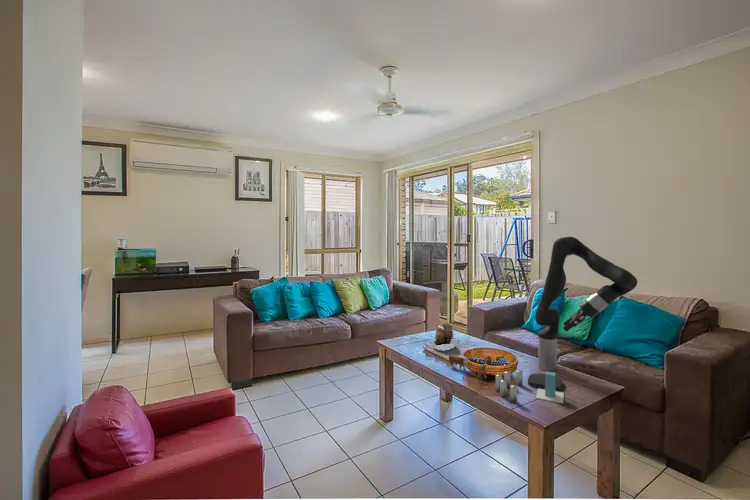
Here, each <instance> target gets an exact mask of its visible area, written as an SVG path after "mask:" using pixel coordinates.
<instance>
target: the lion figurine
mask: <svg viewBox="0 0 750 500" xmlns="http://www.w3.org/2000/svg"><path fill="white" fill-rule="evenodd" d="M483 360H484V361H483ZM482 361H483V363H482V364H481V365H479V367H478V373H477V378H478V379H480V380H483V377H482V372H483V376H484V378H485V379H488V378H487V377H488V376H487V371H486V370H485V369H486V368H485V367H486V365H488V364H491V363H492V358H491V357H490V355H485V356H484V357H483V358H482ZM484 362H485V364H484ZM492 364H493V363H492ZM485 371H486V372H485Z"/></svg>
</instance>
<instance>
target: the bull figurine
mask: <svg viewBox="0 0 750 500" xmlns="http://www.w3.org/2000/svg"><path fill="white" fill-rule="evenodd" d="M469 359H470V357H466V356H458V355H455V354H452V353H451V354H449V355H448V362H449V366H451V368H452V369H453V368H454V369H455V366H454V365H456V366H457V365H459V369H458V370H459V371H460V370H461V371H462V368H463V370H464V369H466V367H465V366H466V365H467V363H468V364H469V361H468V360H469ZM465 363H466V365H465ZM453 366H454V367H453Z"/></svg>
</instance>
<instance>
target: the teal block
mask: <svg viewBox="0 0 750 500" xmlns="http://www.w3.org/2000/svg"><path fill="white" fill-rule="evenodd" d="M544 374H545V396H548V397H554V398H555V376H556V372H555V371H545V373H544Z"/></svg>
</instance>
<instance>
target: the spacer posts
mask: <svg viewBox="0 0 750 500" xmlns="http://www.w3.org/2000/svg"><path fill="white" fill-rule="evenodd" d="M511 375H512V374H511V371H509V370H504V372H503V374H498V373H497V374H495V391H497V392H499V396H500V397H501V398H507V395H508V391H507V390H508V388H509V402H510V403H511V404H517V403H518V387H522V386H523V385H524V384H523V383H524V382H523V370H521V369H516V371H515V384H511V381H512V380H511Z"/></svg>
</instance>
